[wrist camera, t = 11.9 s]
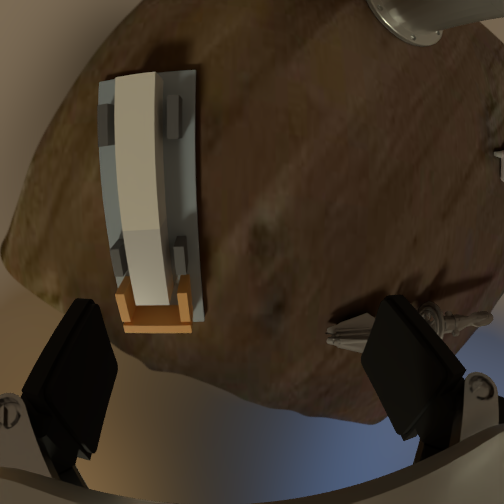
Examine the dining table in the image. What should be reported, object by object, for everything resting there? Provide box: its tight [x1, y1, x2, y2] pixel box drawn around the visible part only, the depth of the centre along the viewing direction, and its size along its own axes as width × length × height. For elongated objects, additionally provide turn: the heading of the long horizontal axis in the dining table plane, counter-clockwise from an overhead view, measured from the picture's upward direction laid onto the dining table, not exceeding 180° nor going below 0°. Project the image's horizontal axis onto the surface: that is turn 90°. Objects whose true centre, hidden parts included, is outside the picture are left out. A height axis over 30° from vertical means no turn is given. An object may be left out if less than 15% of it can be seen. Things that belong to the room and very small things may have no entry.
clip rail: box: [98, 70, 204, 333], centre depth 26 cm, size 28×10×5 cm, turn 179°
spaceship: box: [326, 301, 493, 353], centre depth 36 cm, size 8×35×8 cm
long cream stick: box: [114, 72, 174, 305], centre depth 25 cm, size 22×4×4 cm, turn 179°
